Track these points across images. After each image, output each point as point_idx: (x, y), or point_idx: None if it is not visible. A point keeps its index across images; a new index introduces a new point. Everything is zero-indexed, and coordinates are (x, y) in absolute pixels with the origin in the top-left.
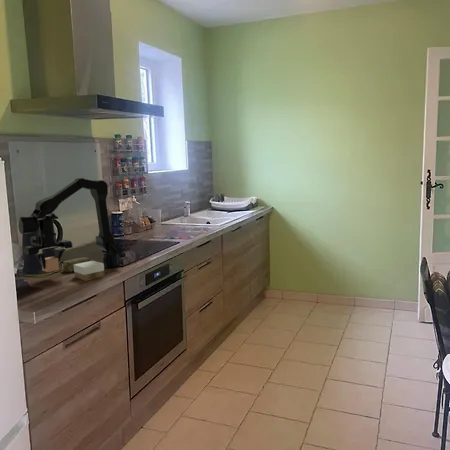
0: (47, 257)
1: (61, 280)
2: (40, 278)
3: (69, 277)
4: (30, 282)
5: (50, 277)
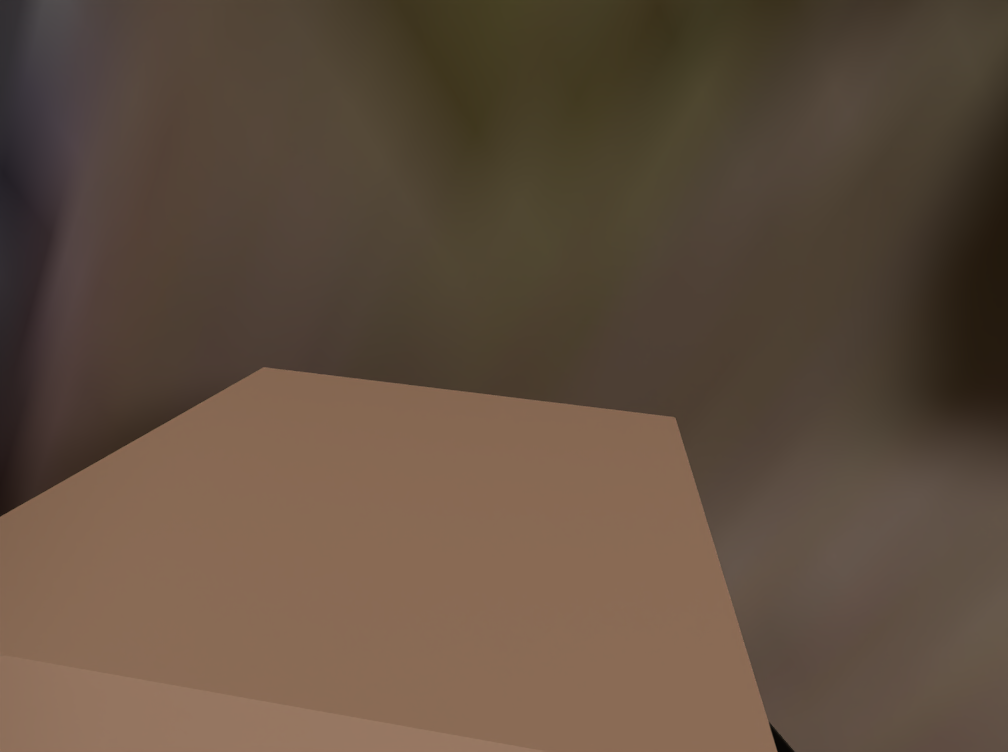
0: (308, 718)
1: None
2: (369, 161)
3: (790, 677)
4: (85, 297)
5: (563, 298)
